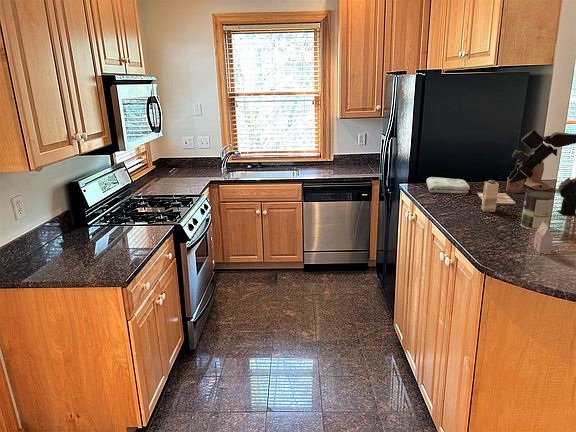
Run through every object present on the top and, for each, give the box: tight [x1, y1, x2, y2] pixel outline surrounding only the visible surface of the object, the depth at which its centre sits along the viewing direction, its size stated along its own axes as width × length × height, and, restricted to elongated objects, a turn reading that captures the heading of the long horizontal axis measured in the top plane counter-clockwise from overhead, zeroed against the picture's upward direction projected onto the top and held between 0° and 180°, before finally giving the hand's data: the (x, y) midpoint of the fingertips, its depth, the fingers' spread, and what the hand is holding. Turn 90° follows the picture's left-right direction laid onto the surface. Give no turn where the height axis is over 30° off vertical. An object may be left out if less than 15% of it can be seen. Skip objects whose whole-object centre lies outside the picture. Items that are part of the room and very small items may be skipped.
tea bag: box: [532, 222, 554, 255], centre depth 155 cm, size 4×7×10 cm, turn 166°
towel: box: [425, 176, 471, 194], centre depth 241 cm, size 18×21×5 cm
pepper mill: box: [481, 179, 500, 213], centre depth 201 cm, size 5×5×14 cm
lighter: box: [505, 173, 525, 194], centre depth 231 cm, size 8×3×10 cm, turn 62°
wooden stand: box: [523, 160, 552, 191], centre depth 238 cm, size 15×12×15 cm
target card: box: [476, 192, 517, 205], centre depth 220 cm, size 18×14×1 cm
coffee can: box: [520, 190, 555, 231], centre depth 178 cm, size 10×10×14 cm
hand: (509, 180), depth 201 cm, fingers open, 9 cm apart
